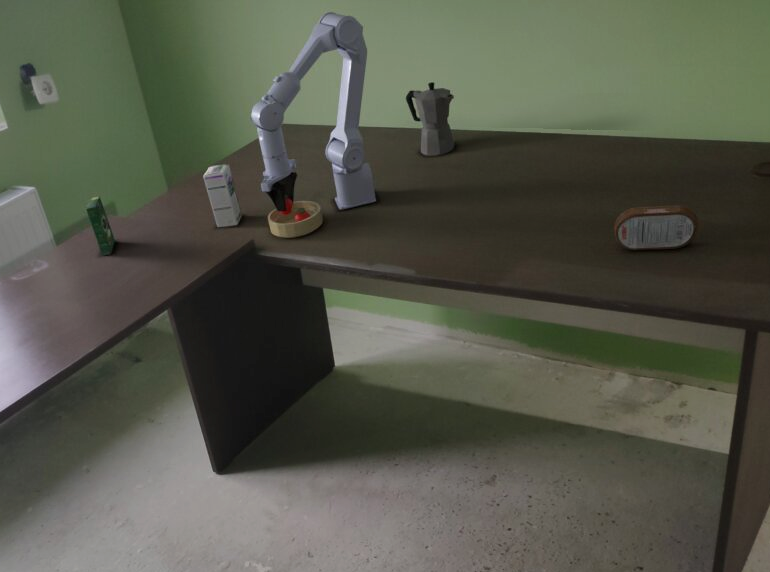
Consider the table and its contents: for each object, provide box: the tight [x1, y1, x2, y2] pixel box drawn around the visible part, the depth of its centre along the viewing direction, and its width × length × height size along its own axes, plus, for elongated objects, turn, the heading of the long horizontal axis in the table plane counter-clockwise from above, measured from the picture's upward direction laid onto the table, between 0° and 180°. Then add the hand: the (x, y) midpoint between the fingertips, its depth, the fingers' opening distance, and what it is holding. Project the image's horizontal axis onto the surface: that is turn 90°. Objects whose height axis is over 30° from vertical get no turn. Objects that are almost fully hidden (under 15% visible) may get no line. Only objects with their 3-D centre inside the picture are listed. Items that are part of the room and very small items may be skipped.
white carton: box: [202, 163, 243, 228], centre depth 223 cm, size 6×6×14 cm
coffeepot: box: [405, 81, 455, 157], centre depth 232 cm, size 15×9×18 cm, turn 44°
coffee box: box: [85, 195, 116, 256], centre depth 226 cm, size 8×3×13 cm, turn 0°
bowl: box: [267, 200, 324, 239], centre depth 214 cm, size 13×13×4 cm
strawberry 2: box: [295, 208, 310, 222], centre depth 213 cm, size 4×4×4 cm
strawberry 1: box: [281, 195, 293, 215], centre depth 213 cm, size 4×4×4 cm
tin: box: [613, 205, 699, 251], centre depth 169 cm, size 15×3×8 cm, turn 71°
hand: (285, 207), depth 214 cm, fingers closed on strawberry 1, 3 cm apart
